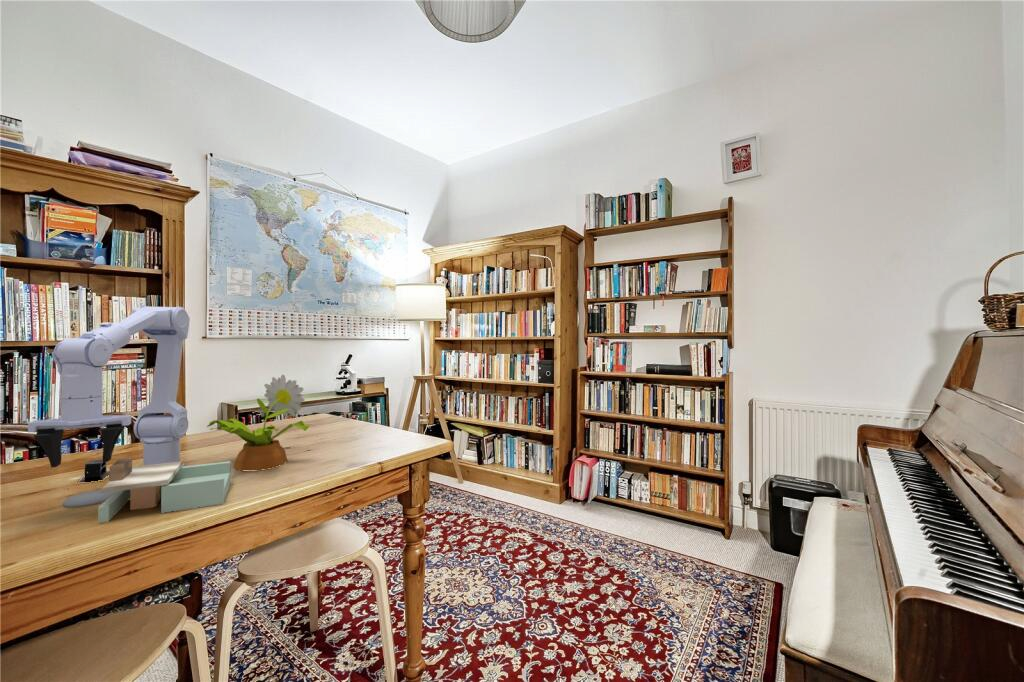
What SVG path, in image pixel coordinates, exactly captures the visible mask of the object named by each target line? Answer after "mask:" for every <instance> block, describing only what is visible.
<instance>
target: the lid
mask: <svg viewBox="0 0 1024 682" xmlns="http://www.w3.org/2000/svg"><path fill="white" fill-rule="evenodd" d="M182 464H183V461H181V460H180V462H171V463H162V464H152V465H143V464H142V465H136V466H133V457H125V458H119V459H118V460H116V462H114V463H112V464H111V465H110V466H109V470H108V471H109V477H108V478H109V481H108V482H107V483H106V484H105V485H104V486H103V487H101V490H102V493H106V492H114V491H122V490H130V489H137V488H145V487H153V486H161V485H168V484H169V482H170V481H171V480H172V478H173V477H174V476H175V474H176V473H177V472H178V470H179V469H180V468H181V466H182Z"/></svg>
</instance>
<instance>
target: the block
mask: <svg viewBox="0 0 1024 682" xmlns="http://www.w3.org/2000/svg"><path fill="white" fill-rule="evenodd" d="M159 500H161V495H160V486H153V487H145V488H137V489H131V494H130V499H129V501H130V511H132V510H131V509H134V510H140V509H139V508H141V509H147V508H154V506H155V507H156V506H157V505H156V504H158V503H159V502H160V501H159ZM158 501H159V502H158Z"/></svg>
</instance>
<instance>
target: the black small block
mask: <svg viewBox="0 0 1024 682" xmlns="http://www.w3.org/2000/svg"><path fill="white" fill-rule="evenodd" d="M109 471H110V470H107V462H103V458H101V459H92V460H91V459H90V460H89V461H88V462H86V463H85V464H84V476H85V477H84V476H82V477H83V478H82V477H81V478H82V479H81V478H80V479H81V480H80V479H79V480H80V481H79V482H91V481H98V480H103V479H104V478H105V477H106V476H108V475H109ZM76 482H77V481H76ZM77 483H78V482H77Z"/></svg>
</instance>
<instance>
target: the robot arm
mask: <svg viewBox="0 0 1024 682" xmlns="http://www.w3.org/2000/svg"><path fill="white" fill-rule="evenodd" d="M190 320H191V319H190V316H189V314H188V312H187V311H186V309H185V308H184V307H183V306H148V305H140V306H138V307H135V308H133V309H132V311H131V314H130V315H128V316H127V317H125V318H123V319H122V320H121V321H119V322H110V321H109V322H107V321H105V322H101V323H99V326H98V327H96V328H94V329H92V330H90V331H85V332H83V333H82V334H81V335H80V336H78V337H77V338H75V337H73V338H72V337H71V338H70V337H69V338H65V339H62V341H59V342H58V343H57V344H56V345H55V347H54V349H53V352H51V357H52V359H53V362H54V363H55V364H56V366H57V373H58V374H59V376H61V412H60V413H61V414H60V415H61V417H60V418H50V419H48V418H47V419H39V420H38V419H37V420H31V421H29V422H28V423H27V432H28V433H36V434H34V435H33V438H34V440H35V441H36V442H37V443H38V444H39V445H40V446H41V448H42V450H43V452H45V454H46V457H47V458H48V461H49V464H50V468H56V467H58V466H60V465H62V439H63V434H64V430H71V429H84V428H85V429H86V428H98V427H100V428H101V427H102V429H101V430H100V432H101V437H102V438H101V439H102V446H103V447H102V459H103V462H106V463H107V462H110V461H111V460H112V457H113V456H112V455H113V452H114V449H115V447H116V443H117V442H118V439H119V438H120V435H122V432H123V431H124V429H125V427H126V426H130V425H131V424H132V415H131V414H120V415H119V414H117V415H116V414H114V415H111V414H110V415H107V414H105V415H104V414H103V366H104V365H107V364H109V361H110V359H111V357H112V356H113V355H114V353H115V352H116V351H118V350H120V349H121V348H122V347H125V346H126V345H128V344H129V343H130V341H131V339H132V337H131V336H133V335H136V334H138V333H139V332H141V333H143V334H144V335H145V336H147V337H148V338H149V339H153V340H154V341H155V342H156V343H157V349H156V358H155V365H154V373H153V379H152V380H153V381H152V389H151V396H150V398H151V399H150V403H148V404H147V405H146V406H144V407H142V408H141V409H139V410H138V415H137V418H136V420H135V422H134V423H133V433H134V435H135V437H136V439H138V440H139V443H143V445H142V446H143V447H142V452H143V453H142V456H143V457H142V461H143V462H142V466H143V465H152V464H162V463H171V462H180V461H181V442H180V439H182V438H184V437H183V436H184V435H186V433H187V431H188V429H189V419H188V409H186V408H185V407H184V406H182V405H181V404H180V403H178V402H177V397H178V389H179V382H180V381H179V380H180V373H181V372H180V371H181V363H182V355H183V347H184V346H183V345H184V340H186V339H187V338H188V337H189V336H188V335H189V329H190ZM162 413H163V414H162ZM183 466H186V464H185V463H183V462H182V466H181V467H183Z"/></svg>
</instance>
